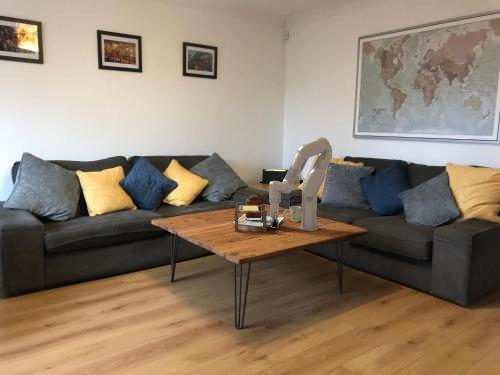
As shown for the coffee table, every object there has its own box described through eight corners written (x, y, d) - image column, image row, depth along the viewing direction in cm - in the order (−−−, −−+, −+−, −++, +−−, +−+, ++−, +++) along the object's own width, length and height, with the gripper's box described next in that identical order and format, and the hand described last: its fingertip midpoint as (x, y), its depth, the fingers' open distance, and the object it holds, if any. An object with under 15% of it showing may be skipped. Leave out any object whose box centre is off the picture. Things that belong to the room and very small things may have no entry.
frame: (264, 223, 285) (264, 204, 283) (266, 231, 265) (266, 210, 263) (235, 223, 284) (235, 204, 282) (234, 231, 264) (234, 210, 262)
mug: (301, 222, 289) (302, 208, 287) (283, 222, 289) (283, 208, 288) (300, 219, 297) (301, 205, 296) (282, 219, 297) (283, 205, 296)
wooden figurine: (262, 219, 298) (262, 194, 295) (261, 221, 291) (261, 196, 289) (245, 218, 299) (246, 193, 297) (244, 220, 293) (244, 195, 290)
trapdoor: (257, 207, 280) (257, 204, 279) (258, 212, 266) (258, 209, 266) (239, 207, 279) (239, 204, 279) (239, 212, 266) (239, 209, 265)
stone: (277, 226, 278) (278, 219, 277) (278, 228, 273) (278, 221, 272) (270, 226, 277) (270, 219, 277) (270, 228, 272) (271, 221, 272)
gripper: (268, 197, 280) (267, 223, 283) (270, 202, 264) (269, 230, 266) (279, 197, 281) (278, 223, 283) (281, 202, 264) (281, 230, 267)
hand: (274, 226), depth 275 cm, fingers closed on stone, 5 cm apart
